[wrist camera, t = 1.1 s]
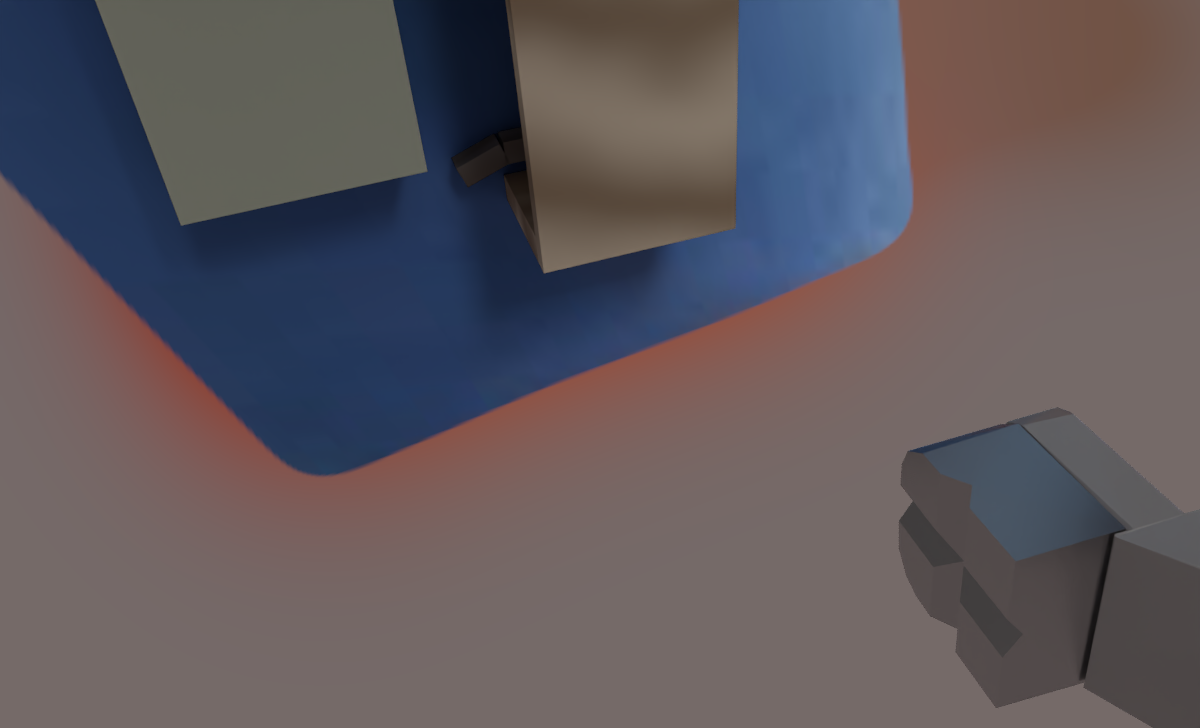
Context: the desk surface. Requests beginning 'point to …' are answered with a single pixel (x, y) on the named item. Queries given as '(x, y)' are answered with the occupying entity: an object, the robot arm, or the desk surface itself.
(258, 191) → the case
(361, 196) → the desk surface
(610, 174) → the low shelf
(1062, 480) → the robot arm
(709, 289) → the desk surface
